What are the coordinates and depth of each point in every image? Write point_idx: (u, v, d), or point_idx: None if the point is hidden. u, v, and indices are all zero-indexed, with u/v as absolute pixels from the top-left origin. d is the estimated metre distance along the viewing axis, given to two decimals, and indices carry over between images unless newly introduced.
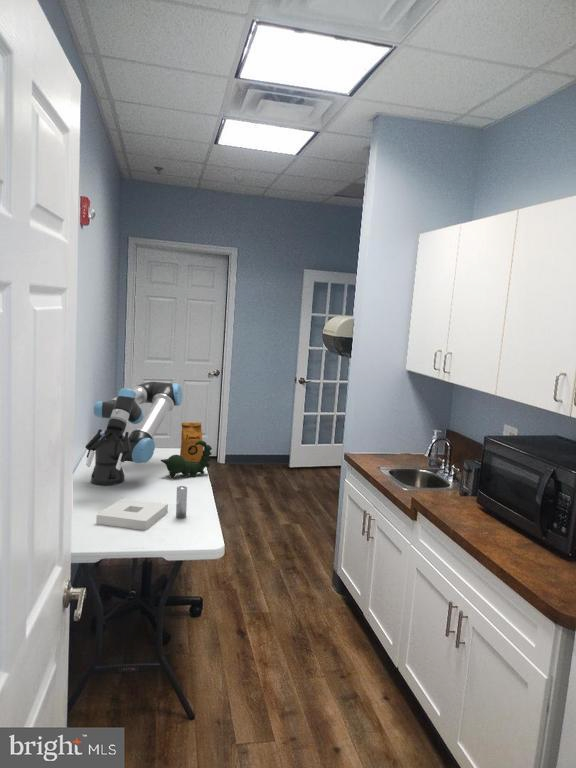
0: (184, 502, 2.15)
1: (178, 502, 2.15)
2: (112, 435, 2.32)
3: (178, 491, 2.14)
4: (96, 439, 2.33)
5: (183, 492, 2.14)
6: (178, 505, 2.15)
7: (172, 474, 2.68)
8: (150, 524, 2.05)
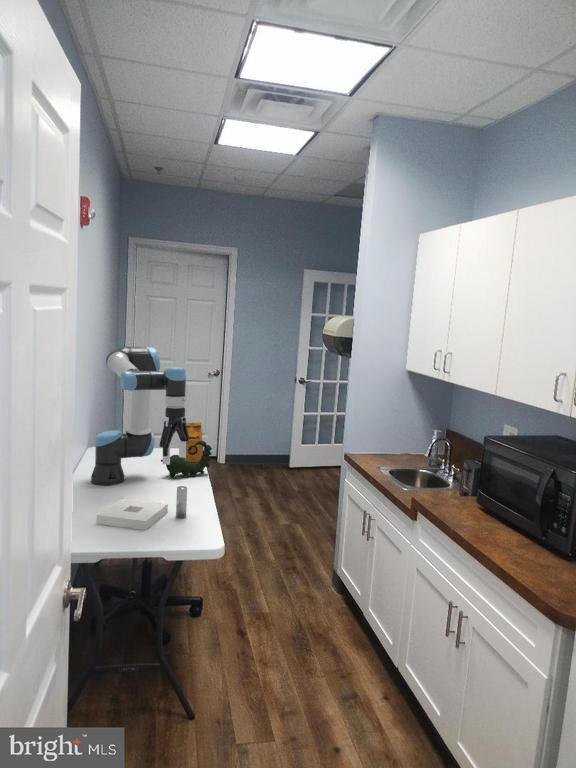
0: (184, 502, 2.15)
1: (178, 502, 2.15)
2: None
3: (178, 491, 2.14)
4: None
5: (183, 492, 2.14)
6: (178, 505, 2.15)
7: (172, 474, 2.68)
8: (150, 524, 2.05)
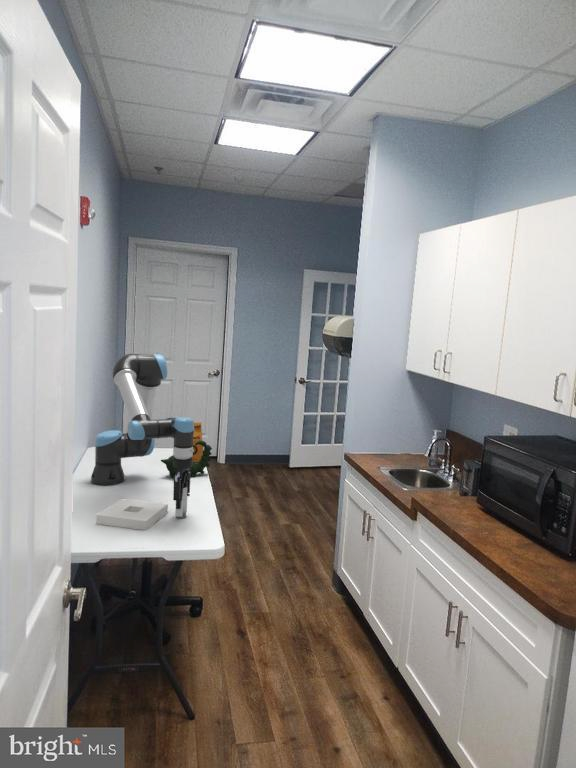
0: (184, 502, 2.15)
1: None
2: None
3: None
4: None
5: (183, 492, 2.14)
6: None
7: (172, 474, 2.68)
8: (150, 524, 2.05)
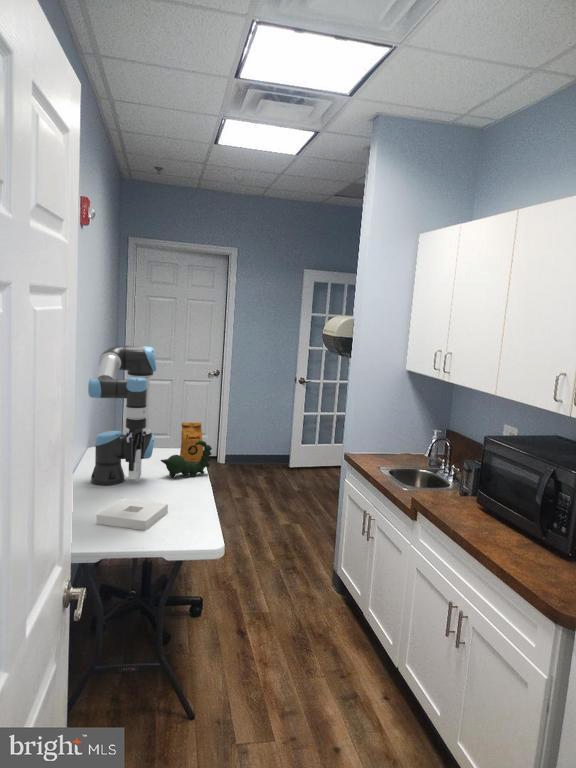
0: (137, 464, 2.10)
1: None
2: None
3: None
4: None
5: (136, 454, 2.09)
6: None
7: (172, 474, 2.68)
8: (150, 524, 2.05)
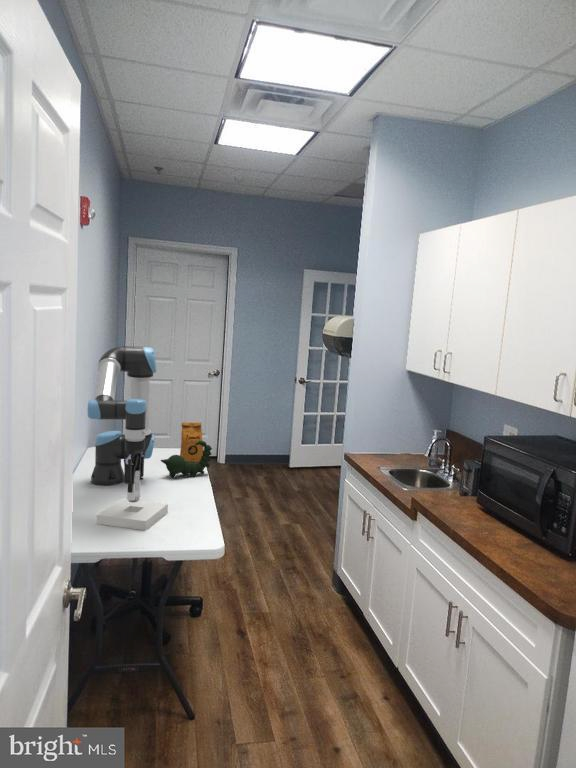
0: (136, 485, 2.10)
1: None
2: (137, 457, 2.10)
3: None
4: None
5: (135, 475, 2.09)
6: None
7: (172, 474, 2.68)
8: (150, 524, 2.05)
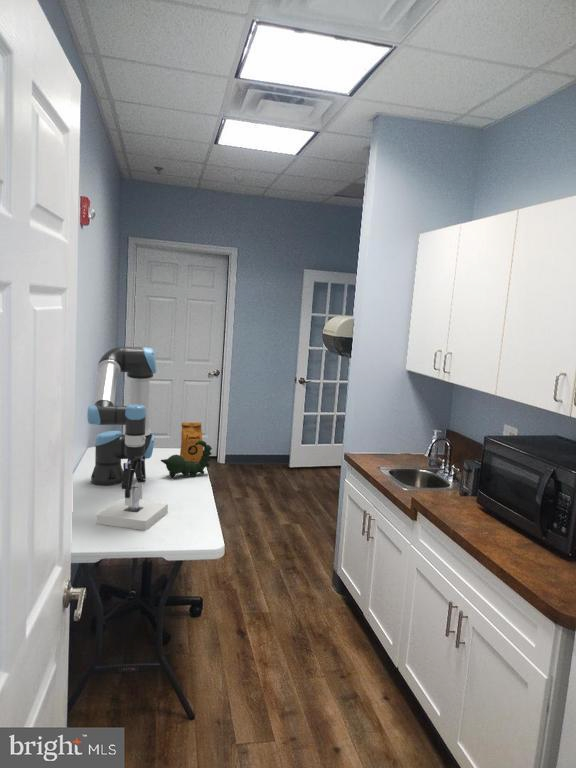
0: (136, 503, 2.11)
1: None
2: None
3: None
4: None
5: (134, 493, 2.10)
6: (130, 506, 2.11)
7: (172, 474, 2.68)
8: (150, 524, 2.05)
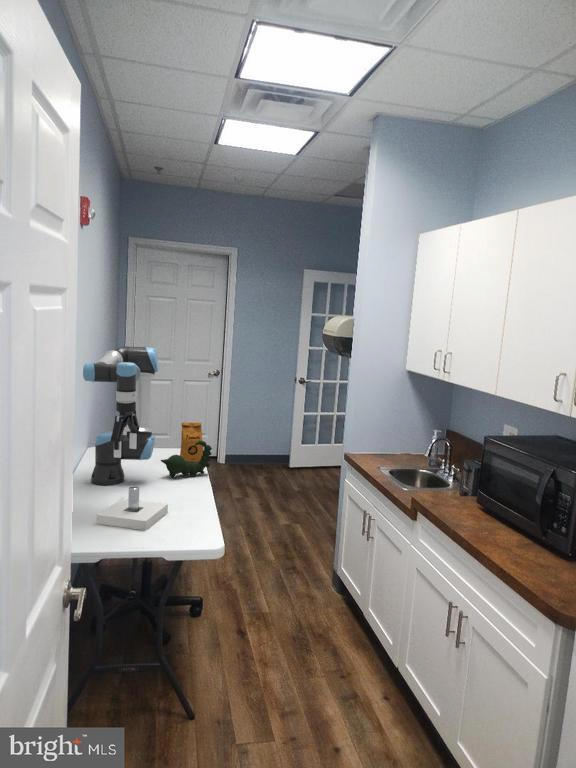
0: (136, 503, 2.11)
1: (130, 503, 2.11)
2: (128, 418, 2.18)
3: (130, 491, 2.10)
4: None
5: (134, 493, 2.10)
6: (130, 506, 2.11)
7: (172, 474, 2.68)
8: (150, 524, 2.05)
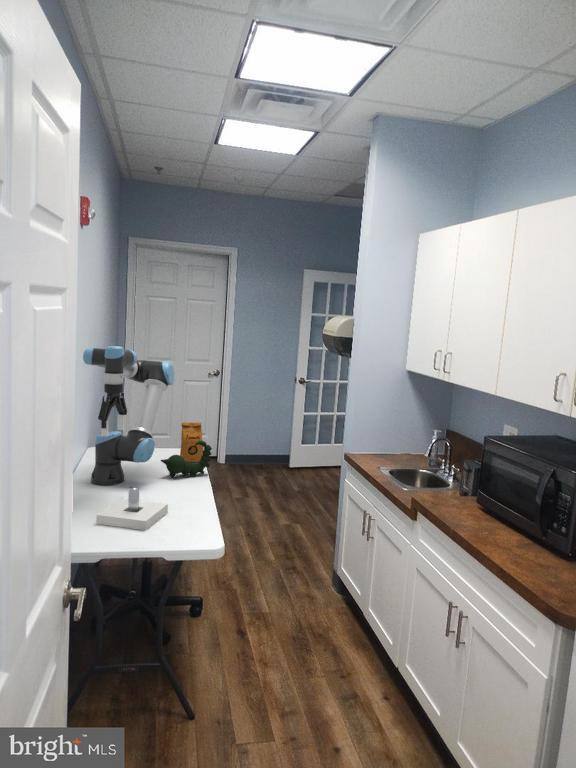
0: (136, 503, 2.11)
1: (130, 503, 2.11)
2: None
3: (130, 491, 2.10)
4: None
5: (134, 493, 2.10)
6: (130, 506, 2.11)
7: (172, 474, 2.68)
8: (150, 524, 2.05)
